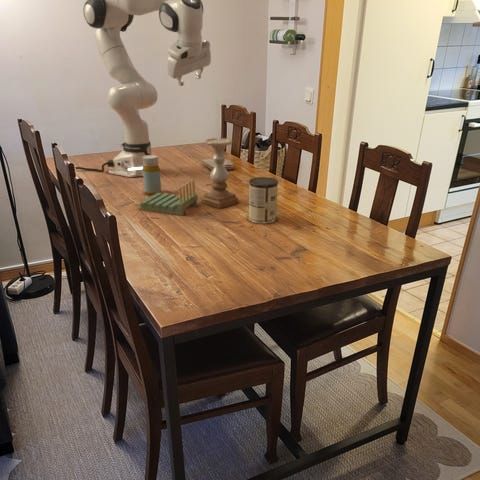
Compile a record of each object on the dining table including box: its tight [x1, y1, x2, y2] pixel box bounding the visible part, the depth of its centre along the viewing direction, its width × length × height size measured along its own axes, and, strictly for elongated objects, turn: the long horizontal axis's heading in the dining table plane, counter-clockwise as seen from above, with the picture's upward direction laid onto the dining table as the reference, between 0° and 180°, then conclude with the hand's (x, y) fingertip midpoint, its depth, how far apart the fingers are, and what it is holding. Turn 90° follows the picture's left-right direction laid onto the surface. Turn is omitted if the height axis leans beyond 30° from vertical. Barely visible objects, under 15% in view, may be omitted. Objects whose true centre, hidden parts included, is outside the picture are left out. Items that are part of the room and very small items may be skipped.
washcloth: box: [200, 158, 235, 171], centre depth 242 cm, size 12×18×3 cm, turn 26°
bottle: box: [142, 154, 162, 196], centre depth 200 cm, size 7×7×15 cm
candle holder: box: [200, 137, 239, 209], centre depth 188 cm, size 11×11×24 cm
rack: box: [139, 179, 198, 216], centre depth 185 cm, size 18×14×10 cm
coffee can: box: [248, 176, 279, 225], centre depth 174 cm, size 10×10×14 cm
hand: (189, 81), depth 195 cm, fingers open, 8 cm apart
